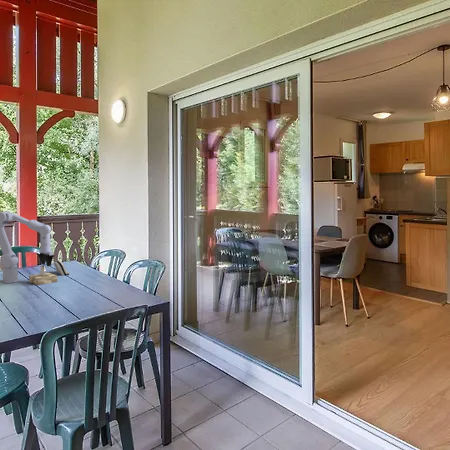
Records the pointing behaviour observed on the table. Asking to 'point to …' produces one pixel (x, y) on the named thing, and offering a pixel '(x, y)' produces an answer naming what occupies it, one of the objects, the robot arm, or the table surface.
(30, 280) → the knuckle block
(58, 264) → the grey stapler
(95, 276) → the table surface
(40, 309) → the table surface
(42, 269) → the peg
